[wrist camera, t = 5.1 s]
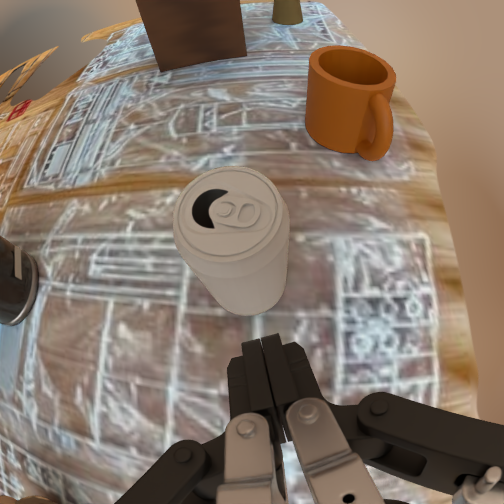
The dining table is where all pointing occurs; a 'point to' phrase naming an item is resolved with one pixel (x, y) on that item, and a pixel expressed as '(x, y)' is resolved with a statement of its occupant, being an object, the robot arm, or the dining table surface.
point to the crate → (193, 30)
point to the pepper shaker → (287, 12)
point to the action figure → (25, 500)
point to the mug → (350, 101)
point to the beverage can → (235, 237)
